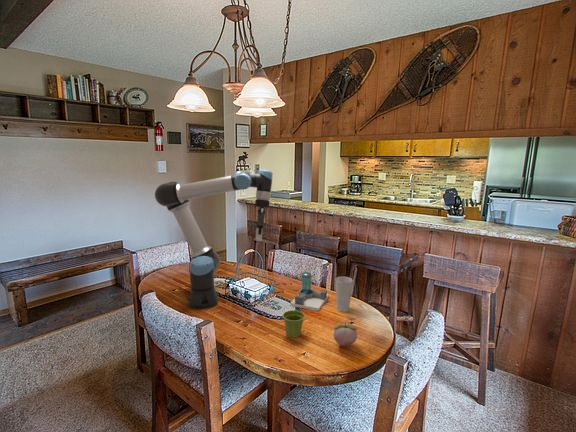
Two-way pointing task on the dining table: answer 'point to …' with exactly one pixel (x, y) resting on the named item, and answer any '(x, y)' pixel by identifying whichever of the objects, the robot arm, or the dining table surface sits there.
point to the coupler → (306, 283)
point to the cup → (343, 293)
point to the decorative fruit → (345, 334)
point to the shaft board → (310, 300)
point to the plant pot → (293, 322)
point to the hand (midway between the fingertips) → (258, 239)
